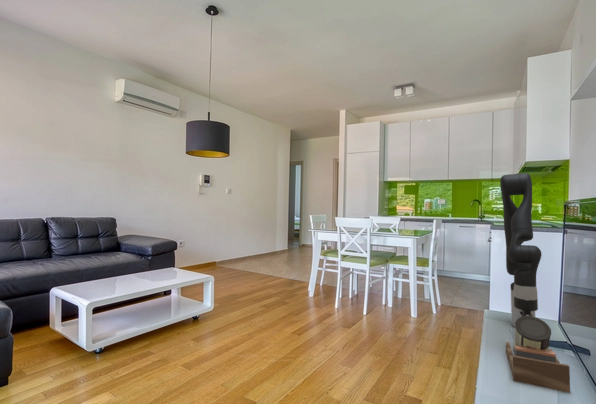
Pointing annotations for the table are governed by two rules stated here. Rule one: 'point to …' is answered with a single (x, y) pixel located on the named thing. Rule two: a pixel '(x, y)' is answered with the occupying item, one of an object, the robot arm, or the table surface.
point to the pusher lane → (539, 371)
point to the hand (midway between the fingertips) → (526, 340)
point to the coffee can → (532, 333)
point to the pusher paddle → (535, 353)
